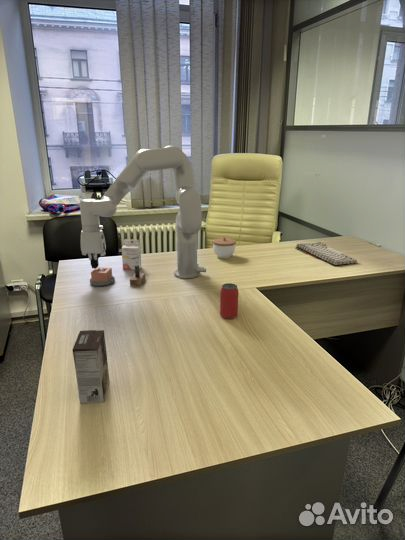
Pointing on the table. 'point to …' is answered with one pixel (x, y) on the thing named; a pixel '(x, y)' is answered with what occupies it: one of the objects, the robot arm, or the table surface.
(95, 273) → the collar
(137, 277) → the stand
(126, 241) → the ink cartridge box
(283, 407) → the table surface
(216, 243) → the lidded bowl
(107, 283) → the hub
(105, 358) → the coffee box
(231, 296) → the beer can
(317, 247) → the mechanical keyboard
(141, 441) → the table surface
